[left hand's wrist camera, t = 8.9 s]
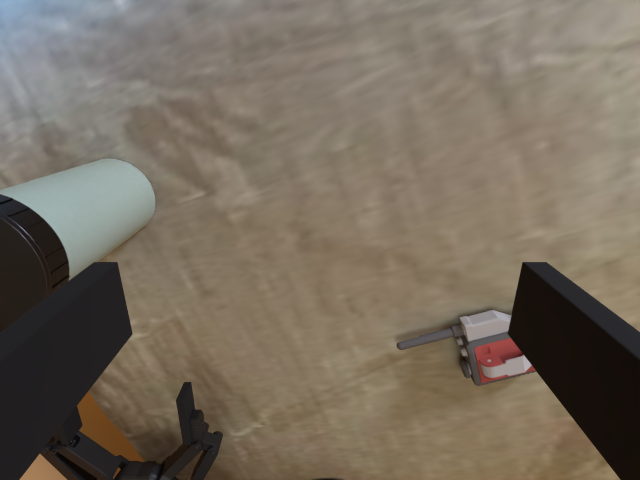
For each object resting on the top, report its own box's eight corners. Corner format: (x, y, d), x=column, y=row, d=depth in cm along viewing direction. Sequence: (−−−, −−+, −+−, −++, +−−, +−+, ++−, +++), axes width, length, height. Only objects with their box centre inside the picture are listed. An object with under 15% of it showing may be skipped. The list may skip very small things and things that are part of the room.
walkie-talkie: (561, 287, 44) (392, 332, 46) (586, 307, 40) (399, 356, 42) (568, 347, 47) (409, 387, 49) (591, 372, 43) (417, 414, 45)
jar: (101, 141, 38) (-64, 178, 22) (170, 192, 40) (66, 262, 24) (63, 201, 40) (-112, 275, 24) (130, 247, 42) (10, 345, 26)
